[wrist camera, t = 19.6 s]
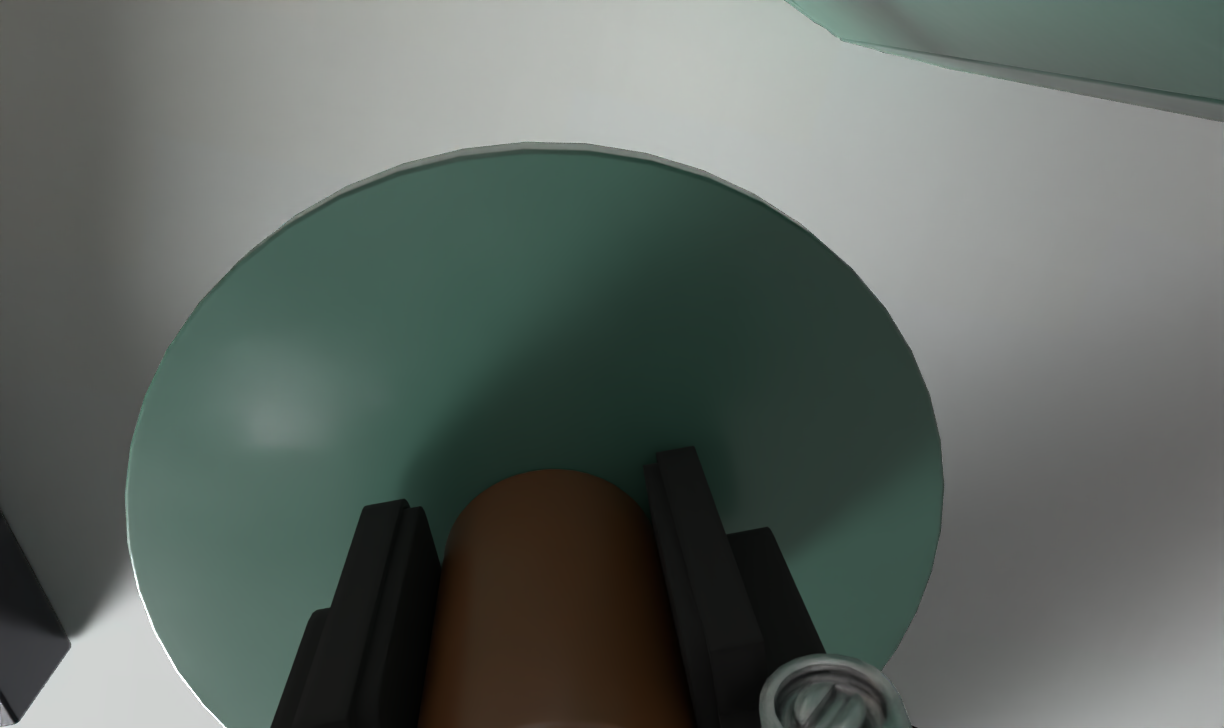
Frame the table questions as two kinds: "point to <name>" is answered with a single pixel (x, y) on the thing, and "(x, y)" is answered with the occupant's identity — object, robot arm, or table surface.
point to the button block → (24, 632)
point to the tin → (1054, 44)
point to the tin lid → (527, 431)
